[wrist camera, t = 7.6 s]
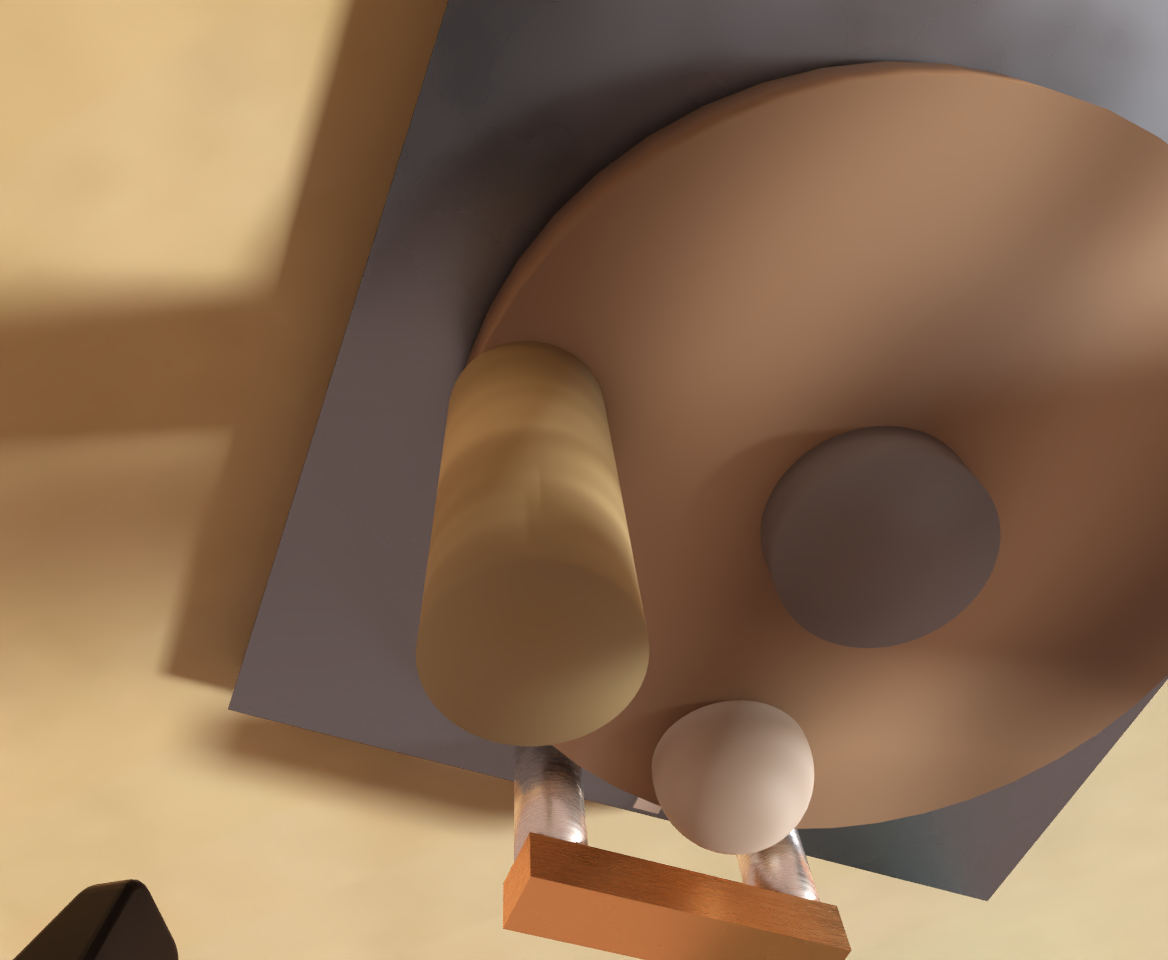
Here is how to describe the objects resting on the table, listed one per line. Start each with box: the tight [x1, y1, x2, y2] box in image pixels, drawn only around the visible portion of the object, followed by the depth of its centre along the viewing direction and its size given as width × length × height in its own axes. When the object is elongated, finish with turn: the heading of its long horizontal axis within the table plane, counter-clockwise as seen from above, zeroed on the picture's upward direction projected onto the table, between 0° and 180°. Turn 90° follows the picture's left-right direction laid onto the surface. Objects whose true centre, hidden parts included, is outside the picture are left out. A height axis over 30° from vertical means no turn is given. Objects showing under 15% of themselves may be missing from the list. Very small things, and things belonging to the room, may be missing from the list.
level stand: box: [228, 0, 1168, 960], centre depth 18 cm, size 18×18×5 cm
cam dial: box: [416, 61, 1168, 855], centre depth 15 cm, size 14×14×8 cm
